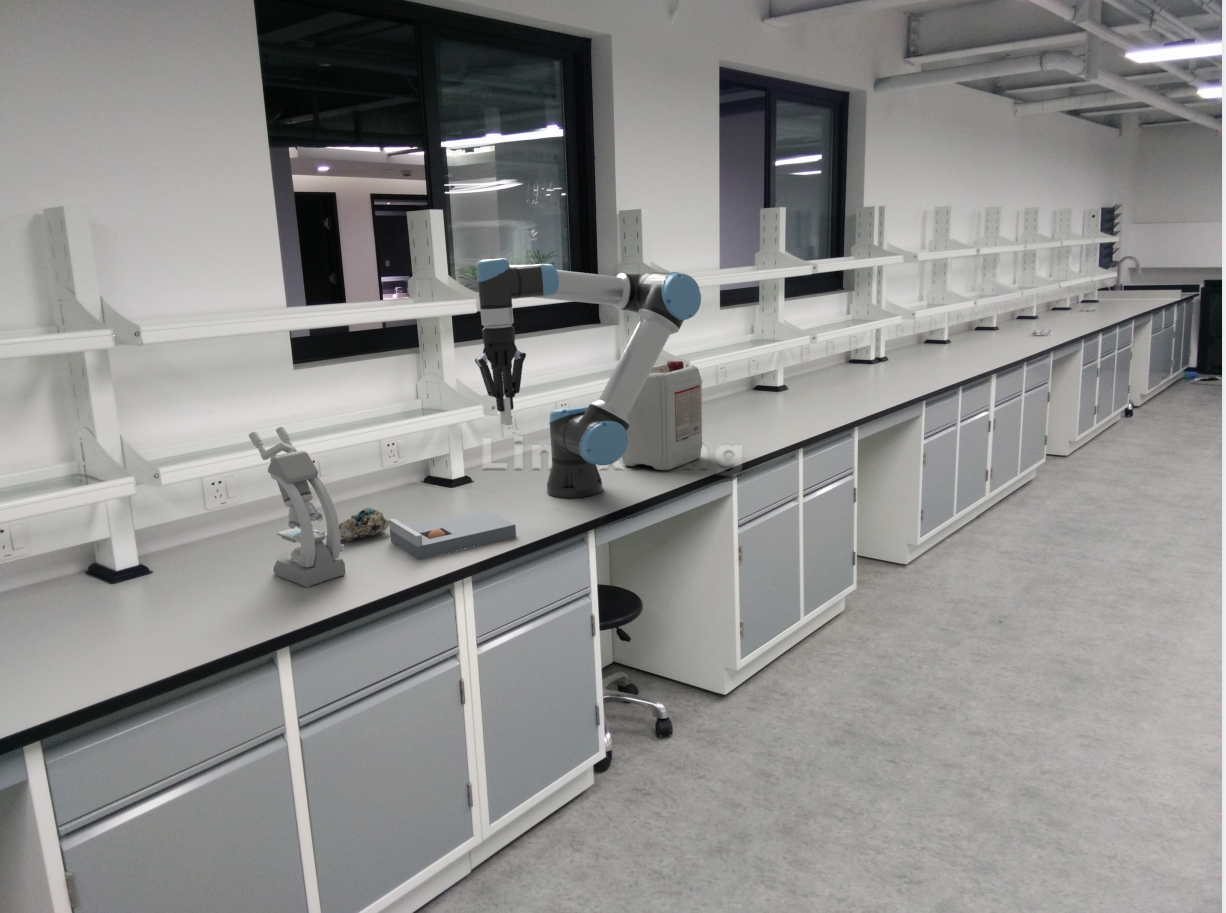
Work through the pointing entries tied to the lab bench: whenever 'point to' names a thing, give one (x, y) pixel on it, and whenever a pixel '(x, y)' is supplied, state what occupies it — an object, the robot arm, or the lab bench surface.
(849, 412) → the lab bench surface
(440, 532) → the ball
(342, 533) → the mineral specimen
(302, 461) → the microscope
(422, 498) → the lab bench surface
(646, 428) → the jerry can
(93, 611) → the lab bench surface
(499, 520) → the grey flat block
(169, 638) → the lab bench surface
